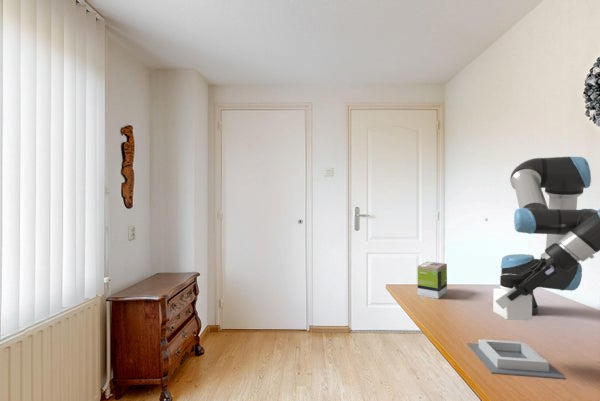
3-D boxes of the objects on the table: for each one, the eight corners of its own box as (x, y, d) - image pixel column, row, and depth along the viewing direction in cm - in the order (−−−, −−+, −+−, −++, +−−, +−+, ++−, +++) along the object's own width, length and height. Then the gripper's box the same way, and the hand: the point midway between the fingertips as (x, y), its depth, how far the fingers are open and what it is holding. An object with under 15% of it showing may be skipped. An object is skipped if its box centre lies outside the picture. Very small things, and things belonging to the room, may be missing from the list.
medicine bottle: (532, 320, 93) (533, 278, 93) (507, 320, 93) (507, 277, 93) (516, 312, 100) (516, 272, 100) (492, 311, 100) (493, 272, 100)
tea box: (427, 289, 173) (427, 260, 173) (447, 292, 167) (447, 263, 167) (416, 295, 161) (417, 265, 161) (438, 299, 155) (438, 268, 155)
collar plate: (527, 350, 105) (527, 339, 105) (565, 381, 87) (565, 367, 87) (467, 346, 107) (467, 335, 107) (491, 375, 89) (491, 362, 89)
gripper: (589, 270, 79) (509, 322, 88) (574, 257, 98) (510, 301, 106) (561, 246, 82) (487, 299, 91) (552, 237, 101) (491, 282, 109)
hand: (499, 300), depth 98 cm, fingers closed on medicine bottle, 9 cm apart
